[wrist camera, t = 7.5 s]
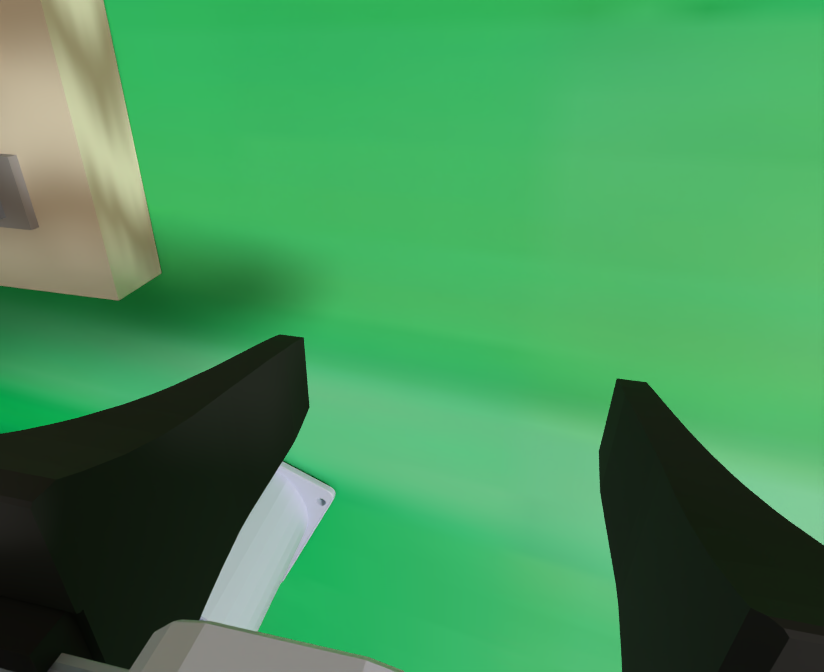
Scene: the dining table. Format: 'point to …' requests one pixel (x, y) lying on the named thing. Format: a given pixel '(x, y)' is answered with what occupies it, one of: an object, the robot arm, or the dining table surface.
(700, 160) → the dining table surface
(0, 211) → the grey long bar
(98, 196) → the display stand
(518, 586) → the dining table surface
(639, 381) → the robot arm
